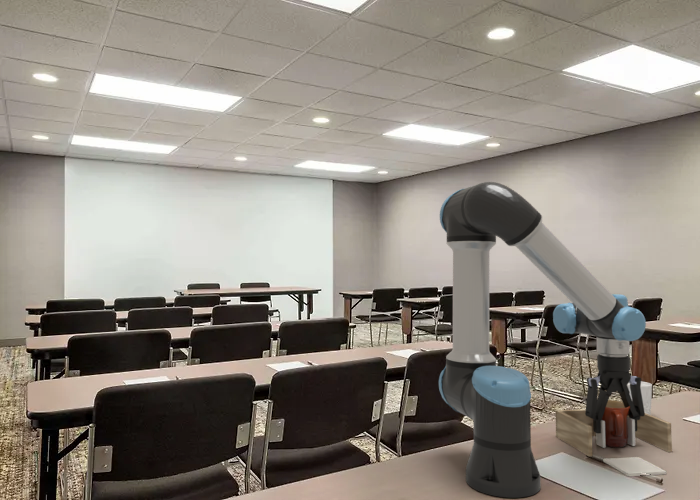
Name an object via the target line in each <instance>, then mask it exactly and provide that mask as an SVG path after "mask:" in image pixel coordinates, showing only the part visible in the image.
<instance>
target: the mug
mask: <svg viewBox="0 0 700 500" xmlns="http://www.w3.org/2000/svg"><path fill="white" fill-rule="evenodd" d="M629 409H630V406H628V407H627V408H625V407H624V404H623V402H622V401H621V400H620V401H619V400H614V399H608V402H607V405H606V407H605V411H604V414H603V417H602V420H603V421H605V442H606V447H608V448H615V449H618V448H624V447H626V446H627V445H628V443H627V441H628V425H627V416H628V412H629Z"/></svg>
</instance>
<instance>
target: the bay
mask: <svg viewBox="0 0 700 500" xmlns="http://www.w3.org/2000/svg"><path fill="white" fill-rule="evenodd" d="M585 412H586V408H585V409H584V408H583V409H582V408H581V409H560V410H559V409H558V410H557V409H556V410H555V437H556V438H558V439H559V440H561V441H562V442H564V443H565V444H567V445H569V446H571V448H574V449H576V451H579V452H581V453H582V454H584V455H585V456H587V457H593V437H596V432H594V430H593V419H592V418H590V417H588V416H586V415H585ZM627 417H629V416H627ZM635 438H637V439H639V440H642V441H644V442H645V443H648V444H650V445H653V446H655V447H656V448H659V449H660V450H663V451H665V452H667V453H673V443H672V441H673V440H672V422H669V421H666V420H664V419H661V418H659V417H657V416H653V415H652V414H651V415H649V414H646V413H645V415H644V416H640V420H637V431H635Z"/></svg>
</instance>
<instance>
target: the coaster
mask: <svg viewBox="0 0 700 500" xmlns="http://www.w3.org/2000/svg"><path fill="white" fill-rule="evenodd" d="M602 461H603V463H605V464H607V465H608V466H610V467H612V468H614V469H616V470H617V471H618V472H620V473H622V474H623V475H625V476H627V477H641V476H640V475H641V473H640V472H642V473H646V474H651V475H650V476H661V475H667V473H668V472H667V471H666V470H664V469H663V468H661V467H658V466H657V465H655V464H653V463H651V462H649V461H647V460H645V459H643V458H641V457H639V456H634V457H633V456H632V457H631V456H629V457H615V458H614V457H613V458H612V457H611V458H603V459H602Z"/></svg>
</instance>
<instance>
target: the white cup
mask: <svg viewBox="0 0 700 500" xmlns="http://www.w3.org/2000/svg"><path fill="white" fill-rule="evenodd" d="M627 387H628V389H629V392H630V393H629V394H630V397H631V399H632V396H631V390H630V383H628V384H627ZM640 388H641V394H642V400H643V406H644V412H645V413H646V414H649V415H652V414H651V412H652V411H651V410H652V401H653V400H652V399H653V398H652V394H653V393H652V392H653V390H652V389H653V384H652V383H650V382H646V381H642V380H641V386H640Z"/></svg>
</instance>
